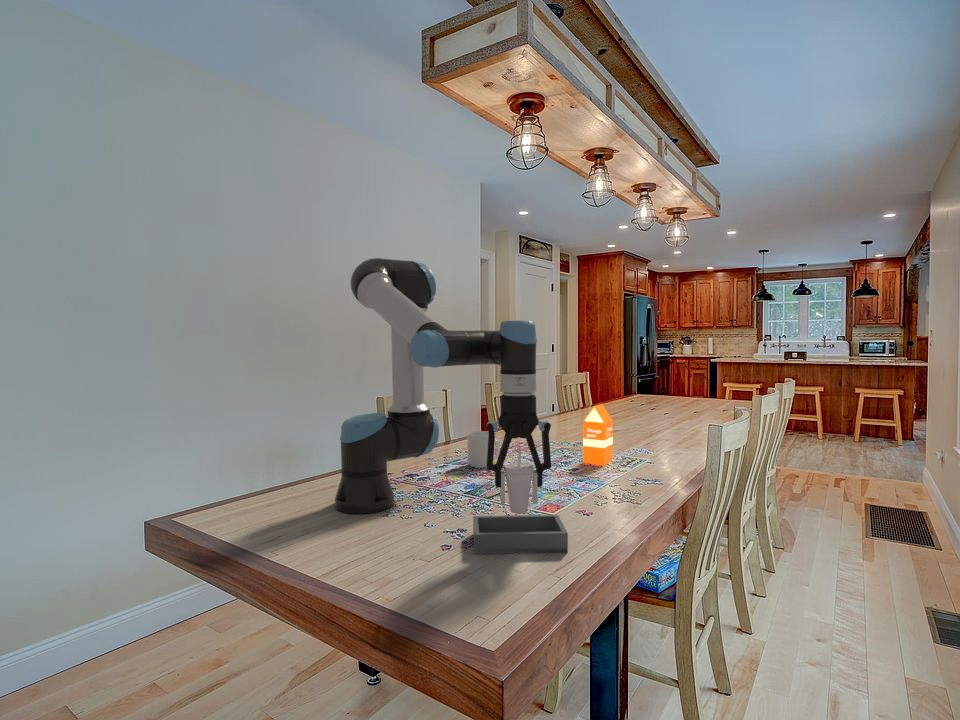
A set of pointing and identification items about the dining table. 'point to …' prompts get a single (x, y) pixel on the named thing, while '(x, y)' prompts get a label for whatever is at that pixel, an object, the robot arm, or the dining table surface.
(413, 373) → the robot arm
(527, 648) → the dining table surface
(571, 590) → the dining table surface
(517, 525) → the tray
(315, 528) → the dining table surface
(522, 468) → the smoothie
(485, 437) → the mug
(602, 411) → the orange juice
